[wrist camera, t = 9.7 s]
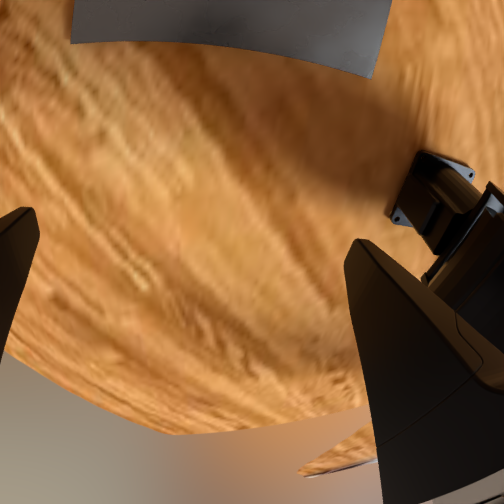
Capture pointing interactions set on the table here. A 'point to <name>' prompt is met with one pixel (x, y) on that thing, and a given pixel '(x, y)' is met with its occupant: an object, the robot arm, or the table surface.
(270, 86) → the table surface
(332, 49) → the stand base
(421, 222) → the robot arm
